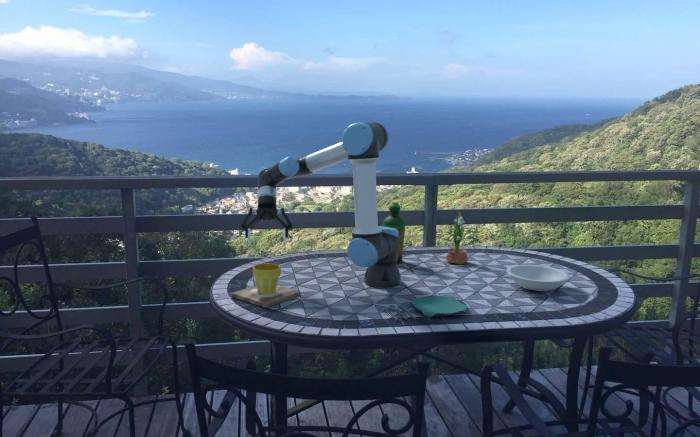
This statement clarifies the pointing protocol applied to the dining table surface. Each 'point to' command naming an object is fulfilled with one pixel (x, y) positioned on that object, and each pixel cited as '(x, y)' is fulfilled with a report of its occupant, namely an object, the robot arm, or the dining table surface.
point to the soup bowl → (537, 277)
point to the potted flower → (457, 243)
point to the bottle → (396, 226)
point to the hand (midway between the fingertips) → (266, 244)
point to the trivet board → (266, 296)
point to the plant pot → (266, 277)
